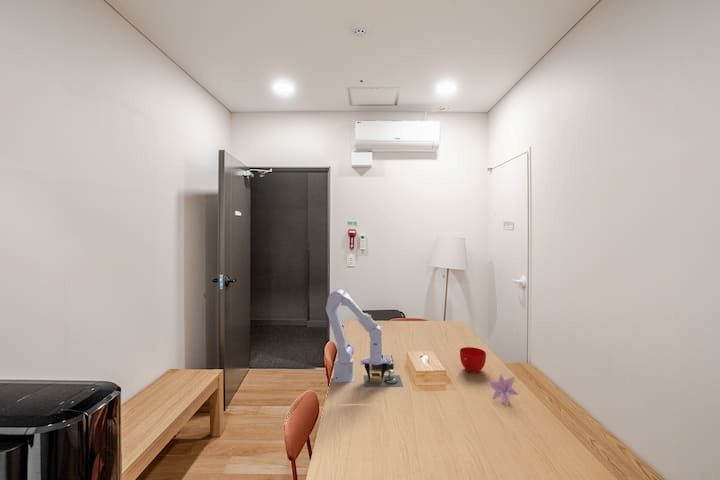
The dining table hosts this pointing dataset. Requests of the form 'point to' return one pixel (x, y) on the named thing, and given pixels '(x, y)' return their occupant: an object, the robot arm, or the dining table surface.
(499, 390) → the lily
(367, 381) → the mat
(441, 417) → the dining table surface
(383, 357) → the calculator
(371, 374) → the bronze square frame
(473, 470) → the dining table surface
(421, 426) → the dining table surface
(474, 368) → the ceramic cup
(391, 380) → the silver disc with post
